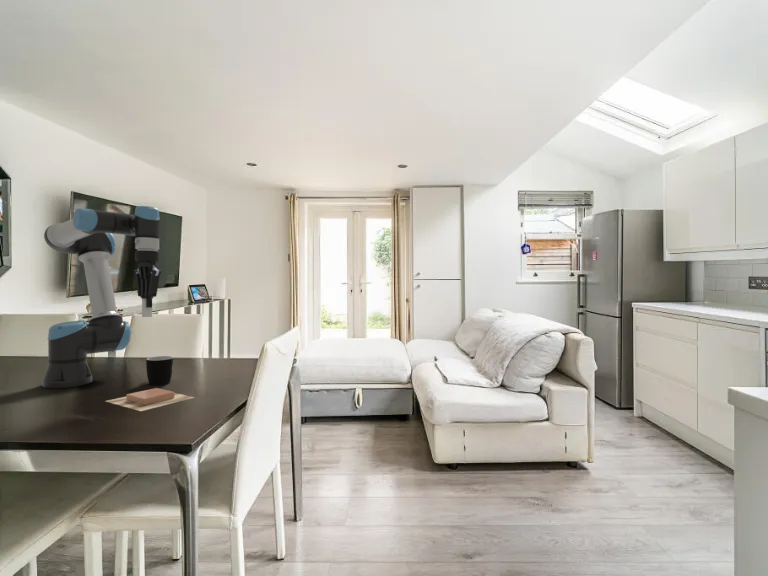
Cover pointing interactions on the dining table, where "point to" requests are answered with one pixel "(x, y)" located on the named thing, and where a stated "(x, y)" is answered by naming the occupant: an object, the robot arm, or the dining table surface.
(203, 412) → the dining table surface
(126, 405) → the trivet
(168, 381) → the mug
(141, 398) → the tile
